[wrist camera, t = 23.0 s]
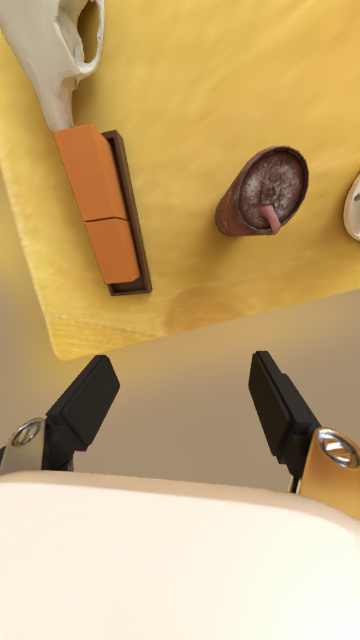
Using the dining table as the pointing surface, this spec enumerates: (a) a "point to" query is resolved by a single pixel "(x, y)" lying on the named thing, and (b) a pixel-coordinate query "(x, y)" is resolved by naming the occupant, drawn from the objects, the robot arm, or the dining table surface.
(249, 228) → the can
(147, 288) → the frame
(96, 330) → the dining table surface
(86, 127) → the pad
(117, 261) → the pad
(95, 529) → the robot arm
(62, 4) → the animal skull
